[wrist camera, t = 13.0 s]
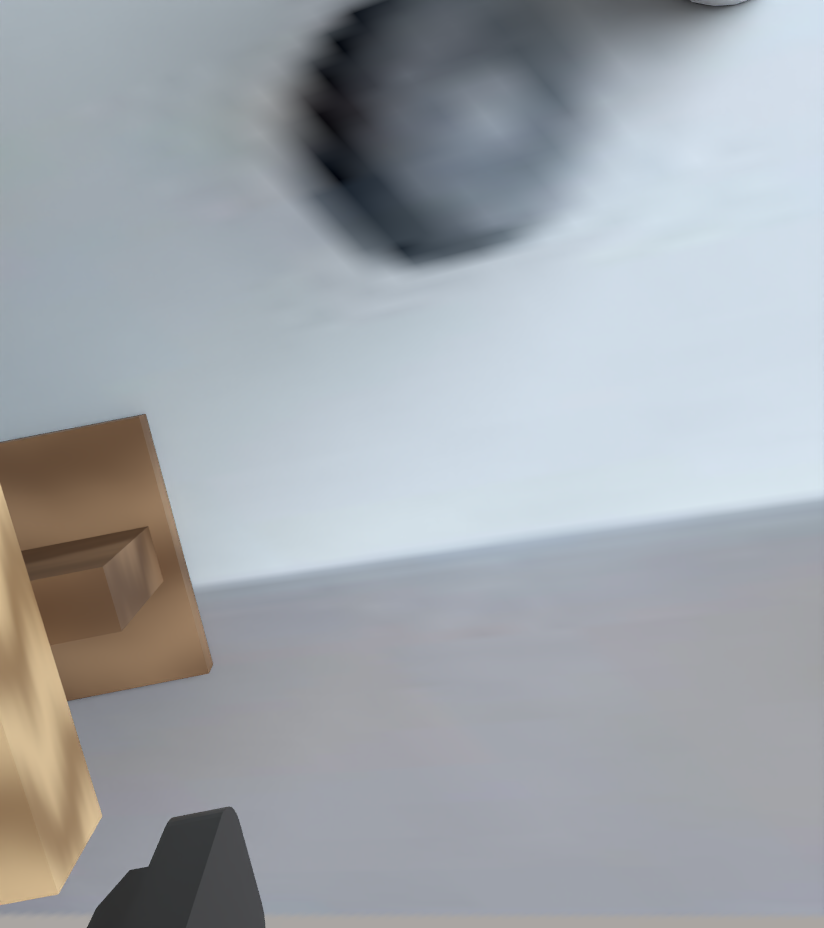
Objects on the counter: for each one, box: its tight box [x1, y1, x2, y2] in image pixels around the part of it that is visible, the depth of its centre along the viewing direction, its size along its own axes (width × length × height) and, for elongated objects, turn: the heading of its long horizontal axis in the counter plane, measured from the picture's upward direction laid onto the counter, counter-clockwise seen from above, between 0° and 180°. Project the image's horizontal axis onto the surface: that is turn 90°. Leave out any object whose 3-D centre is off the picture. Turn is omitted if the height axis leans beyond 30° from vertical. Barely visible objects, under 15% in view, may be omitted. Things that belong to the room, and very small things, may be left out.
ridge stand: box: [0, 414, 213, 701], centre depth 34 cm, size 14×13×7 cm
